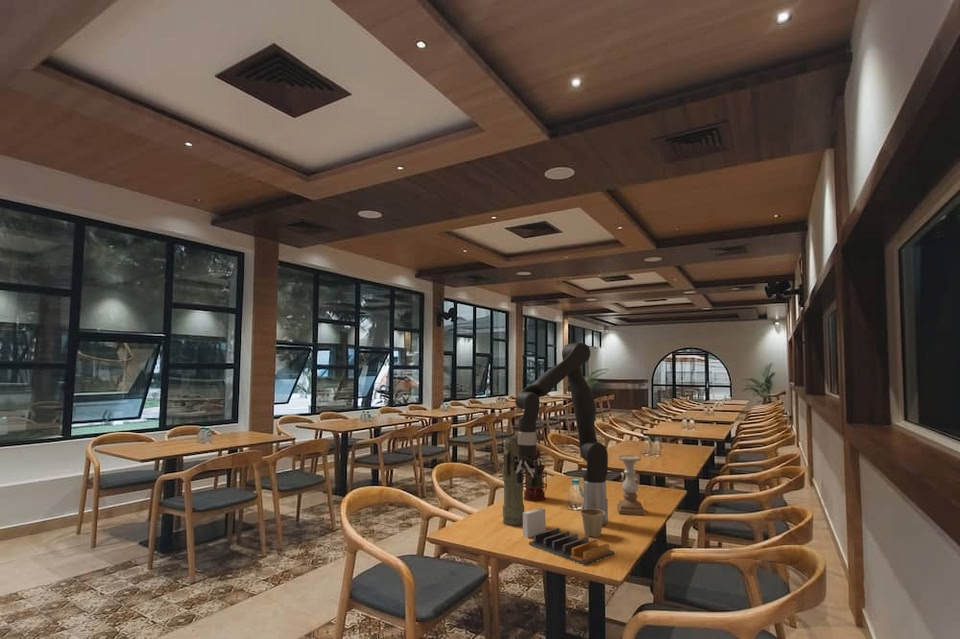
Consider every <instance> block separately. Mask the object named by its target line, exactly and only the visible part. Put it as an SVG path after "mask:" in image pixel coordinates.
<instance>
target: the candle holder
mask: <svg viewBox="0 0 960 639" xmlns="http://www.w3.org/2000/svg"><path fill="white" fill-rule="evenodd" d="M617 459H618V461H623V464H624V465H625V468H624V469H623V473H624V475H625V479H624V481H623V482H622V484H621V490H622V491H623V492H624V493H623V494H622V496H623V499H622V500H619V502H618V503H617V504H616V506H617V512H618V514H619V515H621V516H622V515H624V516H645V514H646V513H645V509H644V506H643V505H642V502H641V501H639V500H638V494H637V492H638V491H639V485H638V483H637V482H636V480H635V477H634V476H635V474H636V473H637V472H636V470H635V465H636V462H640V461H642V457H640V456H638V455H628V454H627V455H626V454H625V455H618V456H617Z"/></svg>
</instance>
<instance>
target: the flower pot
mask: <svg viewBox="0 0 960 639" xmlns="http://www.w3.org/2000/svg"><path fill="white" fill-rule="evenodd" d="M579 512H580V514H581V517H582V523H583V524H582V525H583V531H584V535H585V536H586V537H592V538H599V537H601V535H602V529H603V525H602V522H603V518H604V515H605V512H604V511H602V510H598V509H584V508H583V509H580V510H579Z"/></svg>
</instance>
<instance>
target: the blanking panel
mask: <svg viewBox="0 0 960 639" xmlns="http://www.w3.org/2000/svg"><path fill="white" fill-rule="evenodd" d="M546 523H547V522H546V509H545V508H542V507H539V508H535V509H532V510H527V511H524V512H523V525H522V537H523V538H526V539H529V537H530V538H533V537H534V535H535V534H539V533H542V532H545V531H547V528H546V527H547V525H546ZM532 536H533V537H532Z"/></svg>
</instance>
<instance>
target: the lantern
mask: <svg viewBox="0 0 960 639" xmlns="http://www.w3.org/2000/svg"><path fill="white" fill-rule="evenodd" d="M536 436H537V435H536ZM537 439H540V437H539V436H537ZM539 443H540V440H537V444H539ZM535 460H541V451H540V448H539V447H537V455H536V456H535ZM545 468H546V465H545V464H542V463H541V474H542V475H541V476H539V477H538V478H537V487H532V486H531V477H532V476H531V474H530V473H529V471H528V470H526V469H524V471H525V472H524V481H525V482H523V500H524V501H526V502H532V501H534V503H536V502H535V501H540V502H543V500H544V501H545V500H546V495H545V494H546V493H545V492H546V490H547V489H548V487H547V486H548V485H547V484H548V483H546V482H547V476H548V474H547V471H546V470H545ZM532 469H533V468H532ZM533 473H534V472H533ZM544 478H545V479H544ZM544 480H545V482H544ZM524 488H525V489H524Z"/></svg>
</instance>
